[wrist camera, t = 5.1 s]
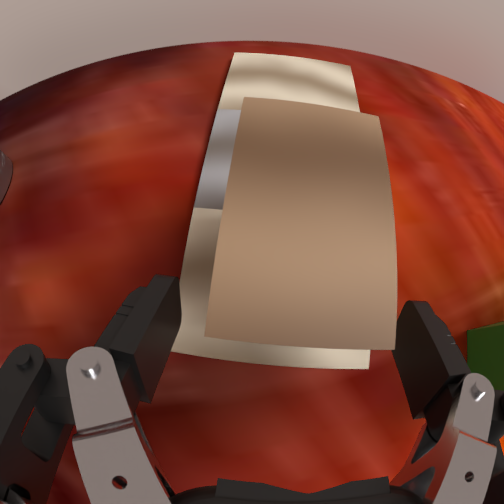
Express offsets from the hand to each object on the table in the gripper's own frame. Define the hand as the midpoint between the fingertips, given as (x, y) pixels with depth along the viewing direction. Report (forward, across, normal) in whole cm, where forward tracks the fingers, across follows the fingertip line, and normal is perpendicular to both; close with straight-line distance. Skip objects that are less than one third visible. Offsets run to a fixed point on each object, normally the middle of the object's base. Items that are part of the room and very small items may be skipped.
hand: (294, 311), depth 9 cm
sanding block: (+8, 0, +4) cm, 9 cm away
